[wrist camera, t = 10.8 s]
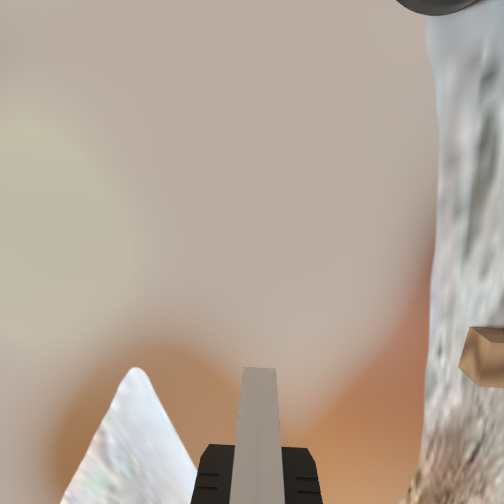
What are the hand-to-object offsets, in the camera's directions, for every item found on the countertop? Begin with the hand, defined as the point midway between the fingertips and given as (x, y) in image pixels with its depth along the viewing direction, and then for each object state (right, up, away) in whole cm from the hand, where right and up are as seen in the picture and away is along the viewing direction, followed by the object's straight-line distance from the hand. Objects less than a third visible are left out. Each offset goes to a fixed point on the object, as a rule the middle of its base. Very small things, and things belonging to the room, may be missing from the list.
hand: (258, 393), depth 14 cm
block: (+37, -8, +31) cm, 49 cm away
